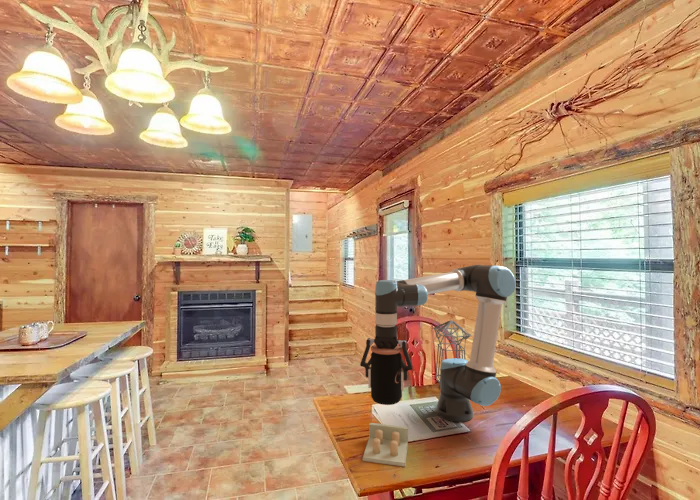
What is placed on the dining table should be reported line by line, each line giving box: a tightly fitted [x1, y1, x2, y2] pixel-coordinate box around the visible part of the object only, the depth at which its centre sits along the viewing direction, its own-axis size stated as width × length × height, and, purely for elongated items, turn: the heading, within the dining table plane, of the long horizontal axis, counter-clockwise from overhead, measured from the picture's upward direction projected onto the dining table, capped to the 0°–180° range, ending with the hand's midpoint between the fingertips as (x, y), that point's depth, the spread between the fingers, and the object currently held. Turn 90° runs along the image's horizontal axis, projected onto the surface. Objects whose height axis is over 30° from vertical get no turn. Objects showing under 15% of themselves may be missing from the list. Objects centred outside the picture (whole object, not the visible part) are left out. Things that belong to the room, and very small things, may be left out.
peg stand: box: [362, 422, 409, 467], centre depth 123 cm, size 14×14×6 cm
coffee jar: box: [370, 344, 403, 406], centre depth 123 cm, size 11×11×18 cm
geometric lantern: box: [431, 319, 472, 389], centre depth 177 cm, size 16×16×35 cm
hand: (386, 388), depth 123 cm, fingers closed on coffee jar, 11 cm apart
